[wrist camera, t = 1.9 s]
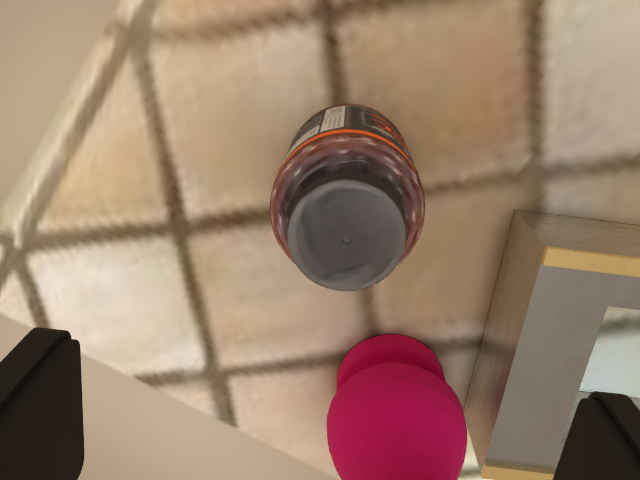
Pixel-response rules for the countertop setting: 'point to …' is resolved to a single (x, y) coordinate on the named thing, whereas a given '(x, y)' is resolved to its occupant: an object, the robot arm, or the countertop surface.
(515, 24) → the countertop surface
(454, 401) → the pepper mill
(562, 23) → the countertop surface
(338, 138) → the supplement bottle
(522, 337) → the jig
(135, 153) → the countertop surface
